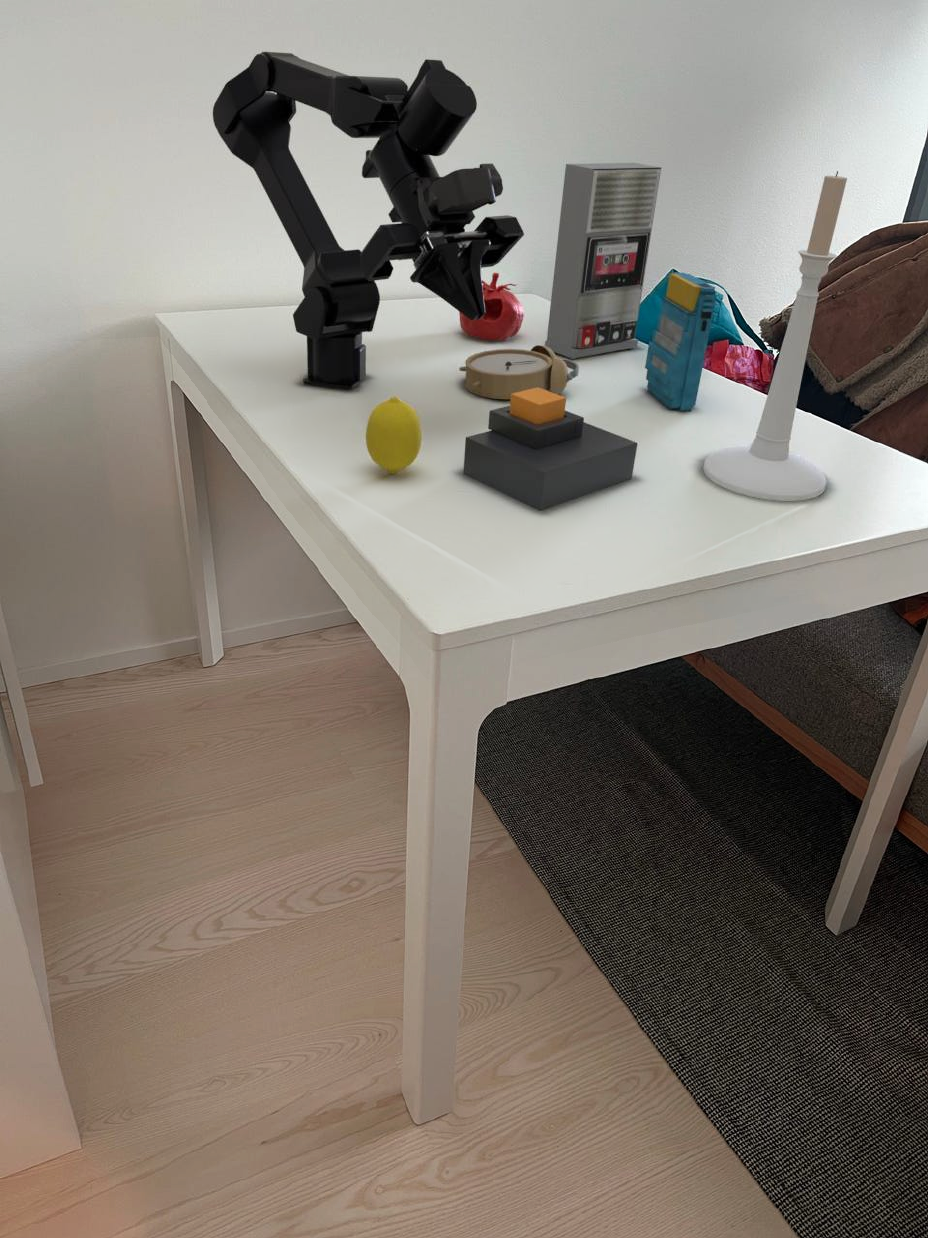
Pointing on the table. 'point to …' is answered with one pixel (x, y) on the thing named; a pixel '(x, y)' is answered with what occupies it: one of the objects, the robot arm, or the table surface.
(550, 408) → the key
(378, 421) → the lemon
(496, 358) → the alarm clock
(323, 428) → the table surface
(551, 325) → the cassette tape recorder
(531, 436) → the push button
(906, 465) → the table surface
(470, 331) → the pomegranate
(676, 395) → the handheld gaming console
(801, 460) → the candlestick
